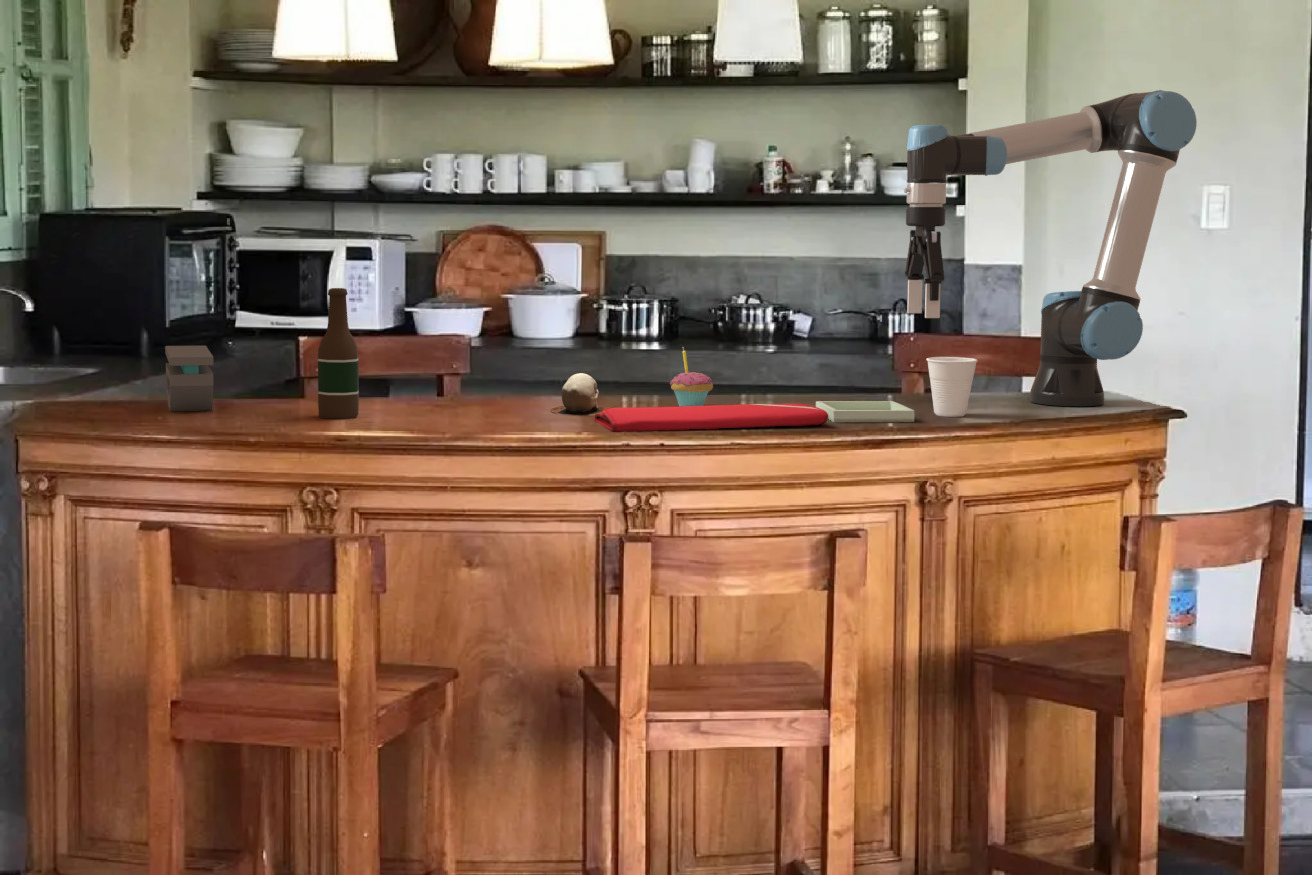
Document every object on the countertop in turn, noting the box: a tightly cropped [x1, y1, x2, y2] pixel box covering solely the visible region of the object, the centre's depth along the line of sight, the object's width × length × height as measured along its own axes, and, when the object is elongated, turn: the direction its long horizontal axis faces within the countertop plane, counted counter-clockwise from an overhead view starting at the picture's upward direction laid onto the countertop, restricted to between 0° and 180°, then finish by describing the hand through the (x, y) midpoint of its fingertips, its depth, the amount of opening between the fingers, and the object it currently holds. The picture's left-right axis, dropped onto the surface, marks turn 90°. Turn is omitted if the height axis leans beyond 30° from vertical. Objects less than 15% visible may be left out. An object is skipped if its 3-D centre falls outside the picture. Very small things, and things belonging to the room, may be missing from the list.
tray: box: [815, 400, 915, 423], centre depth 359 cm, size 16×16×2 cm
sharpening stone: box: [164, 345, 215, 412], centre depth 360 cm, size 25×8×11 cm, turn 17°
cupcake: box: [669, 346, 714, 406], centre depth 371 cm, size 9×8×12 cm
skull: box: [550, 372, 611, 417], centre depth 362 cm, size 12×10×10 cm
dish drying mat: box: [594, 403, 829, 432], centre depth 345 cm, size 16×41×4 cm, turn 104°
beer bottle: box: [317, 287, 360, 420], centre depth 347 cm, size 8×8×24 cm
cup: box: [926, 356, 978, 418], centre depth 364 cm, size 10×10×11 cm
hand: (923, 315), depth 363 cm, fingers open, 13 cm apart
